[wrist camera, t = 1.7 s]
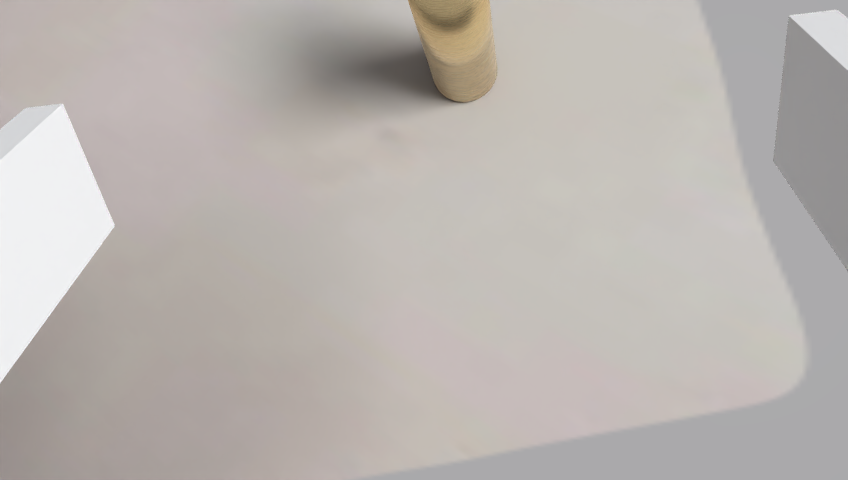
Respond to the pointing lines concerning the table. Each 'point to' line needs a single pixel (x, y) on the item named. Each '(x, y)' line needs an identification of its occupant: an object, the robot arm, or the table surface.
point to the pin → (457, 45)
